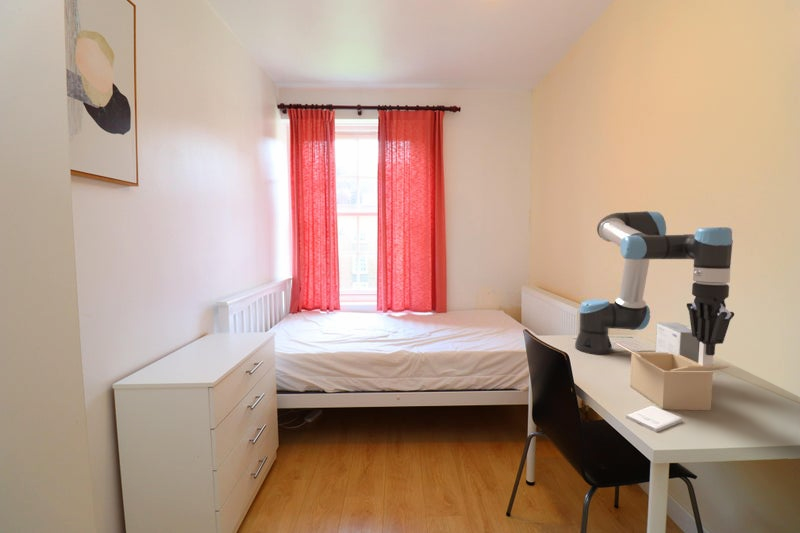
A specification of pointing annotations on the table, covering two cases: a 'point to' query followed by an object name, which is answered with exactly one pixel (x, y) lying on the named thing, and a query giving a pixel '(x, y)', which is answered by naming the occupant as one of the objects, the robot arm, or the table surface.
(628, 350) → the flap
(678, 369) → the flap
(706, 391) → the carton
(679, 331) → the hard drive box
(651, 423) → the external hard drive
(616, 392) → the table surface
